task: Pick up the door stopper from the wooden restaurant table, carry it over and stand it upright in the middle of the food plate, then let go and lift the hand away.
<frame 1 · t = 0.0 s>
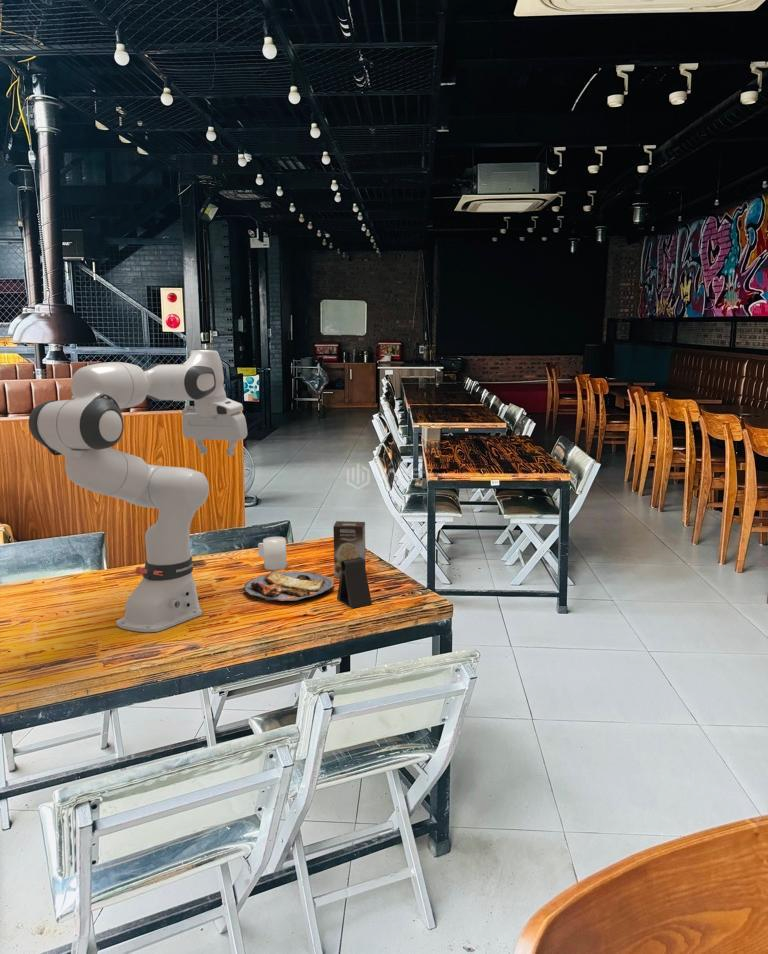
hand: (217, 454, 216), 39 cm above the table, tool pointing down, fingers open, 8 cm apart
white ceramic cup: (275, 567, 240), on the table
food plate: (288, 591, 217), on the table
door stopper: (354, 602, 206), on the table
coffee box: (350, 575, 230), on the table
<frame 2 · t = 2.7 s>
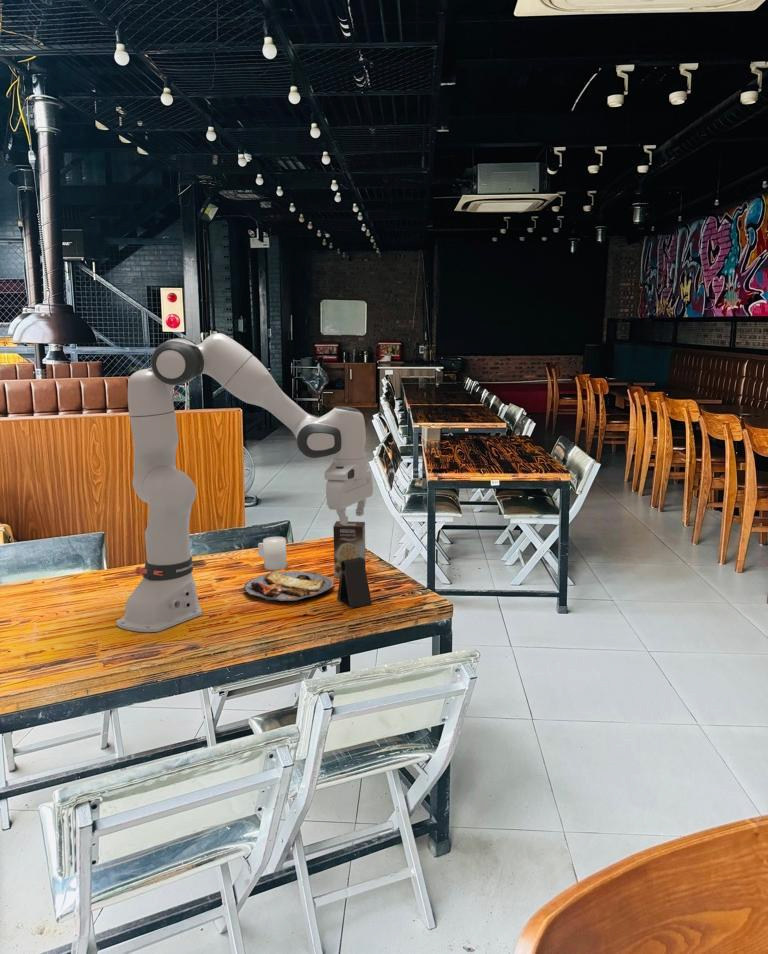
hand: (352, 519, 202), 23 cm above the table, tool pointing down, fingers open, 8 cm apart
nothing on the table moved.
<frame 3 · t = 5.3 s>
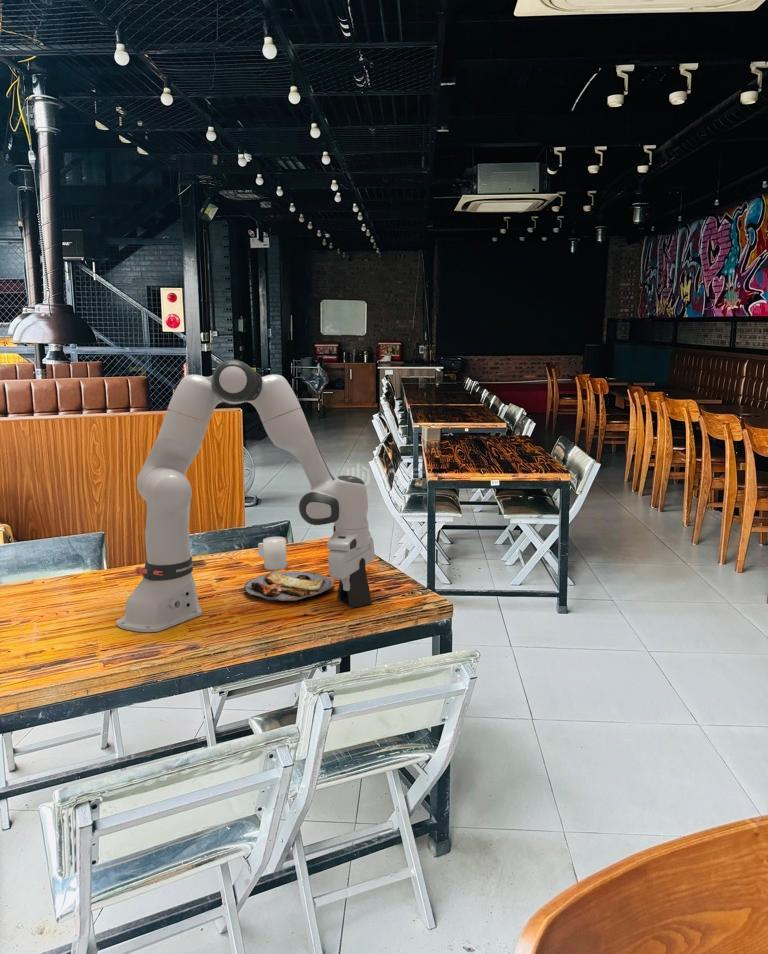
hand: (353, 585, 205), 5 cm above the table, tool pointing down, fingers closed on door stopper, 6 cm apart
door stopper: (354, 602, 206), on the table, touching gripper
everything else where it was.
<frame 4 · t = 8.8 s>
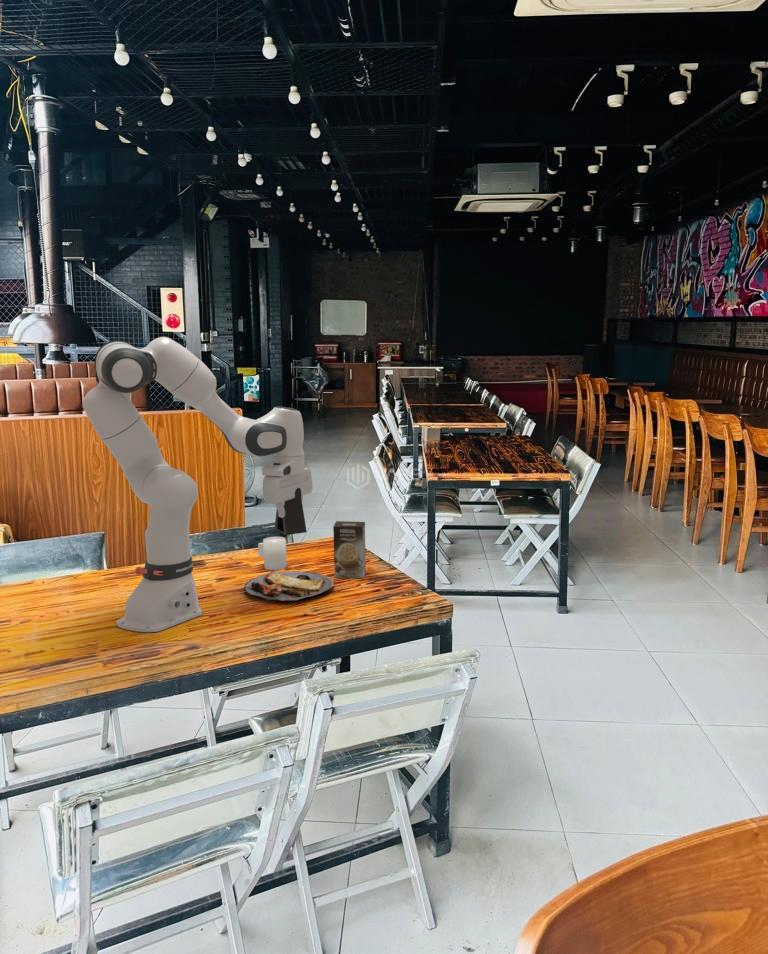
hand: (289, 514, 212), 22 cm above the table, tool pointing down, fingers closed on door stopper, 6 cm apart
door stopper: (290, 531, 212), point 18 cm above the table, touching gripper
everything else where it was.
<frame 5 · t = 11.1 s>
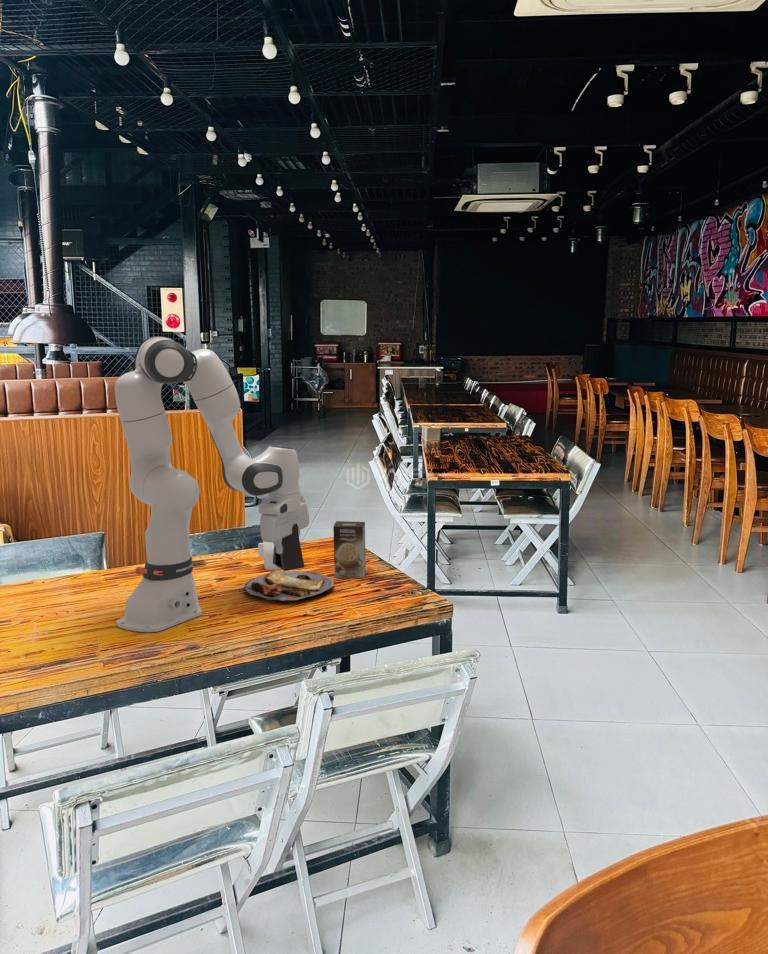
hand: (287, 549, 215), 12 cm above the table, tool pointing down, fingers closed on door stopper, 6 cm apart
door stopper: (288, 566, 216), point 7 cm above the table, touching gripper
everything else where it was.
when the fingers open (10 cm above the table, at t = 12.6 s): door stopper drops 3 cm, resting on food plate.
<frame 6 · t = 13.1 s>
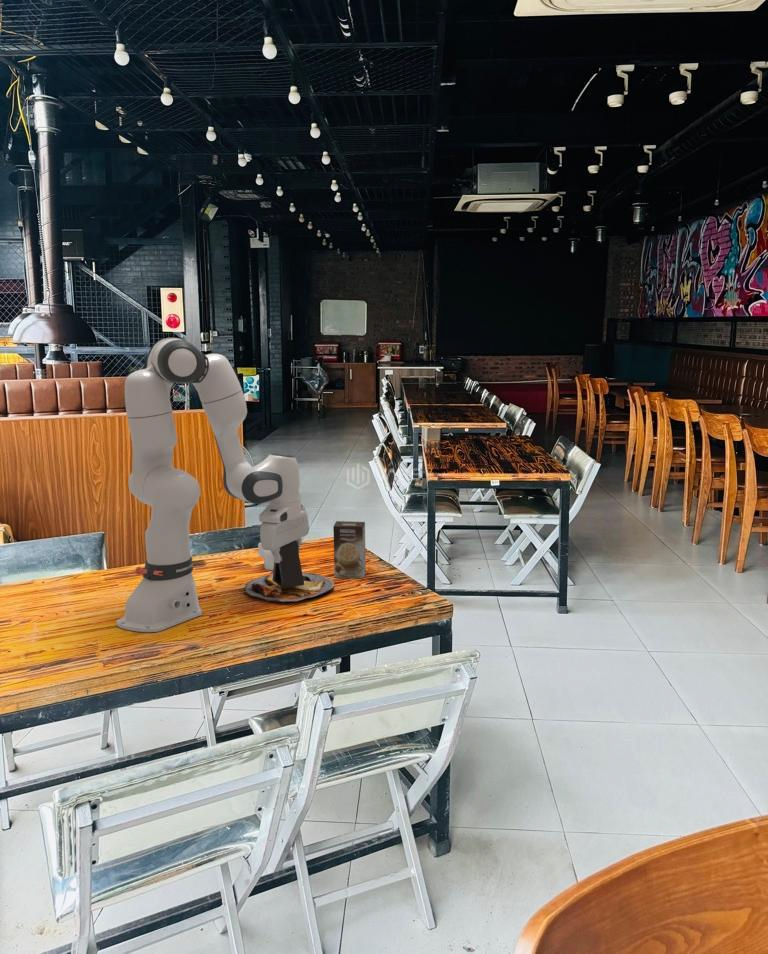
hand: (287, 557, 215), 10 cm above the table, tool pointing down, fingers open, 8 cm apart
food plate: (289, 592, 217), on the table, touching door stopper
door stopper: (288, 583, 216), point 2 cm above the table, touching food plate
everything else where it was.
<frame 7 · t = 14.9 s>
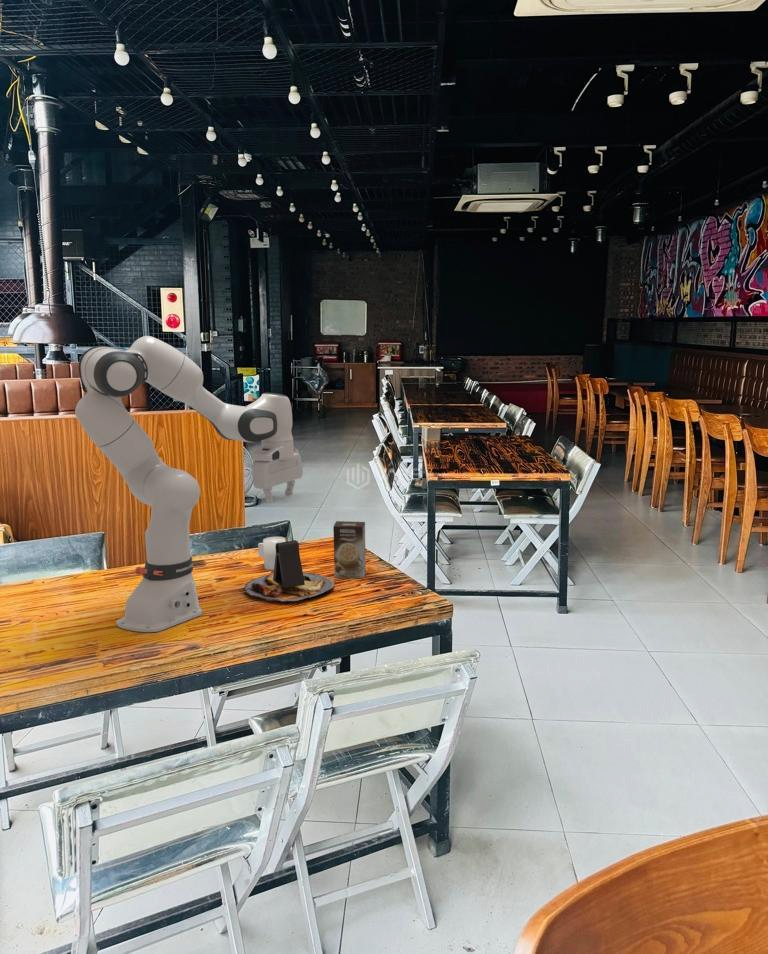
hand: (279, 499, 215), 26 cm above the table, tool pointing down, fingers open, 8 cm apart
nothing on the table moved.
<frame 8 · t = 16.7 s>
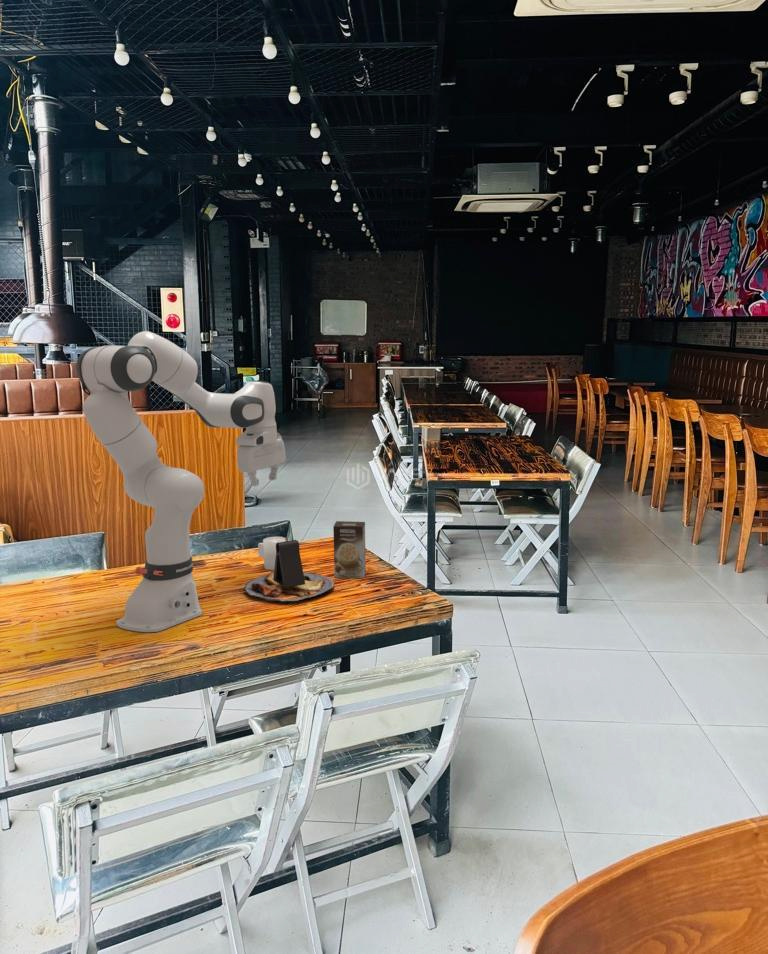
hand: (264, 482, 224), 29 cm above the table, tool pointing down, fingers open, 8 cm apart
nothing on the table moved.
at the end: door stopper inside the target area in the food plate (0.2 cm from its centre), point 2.8 cm above the food plate's base; door stopper tilted 1°; the gripper is holding nothing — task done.
